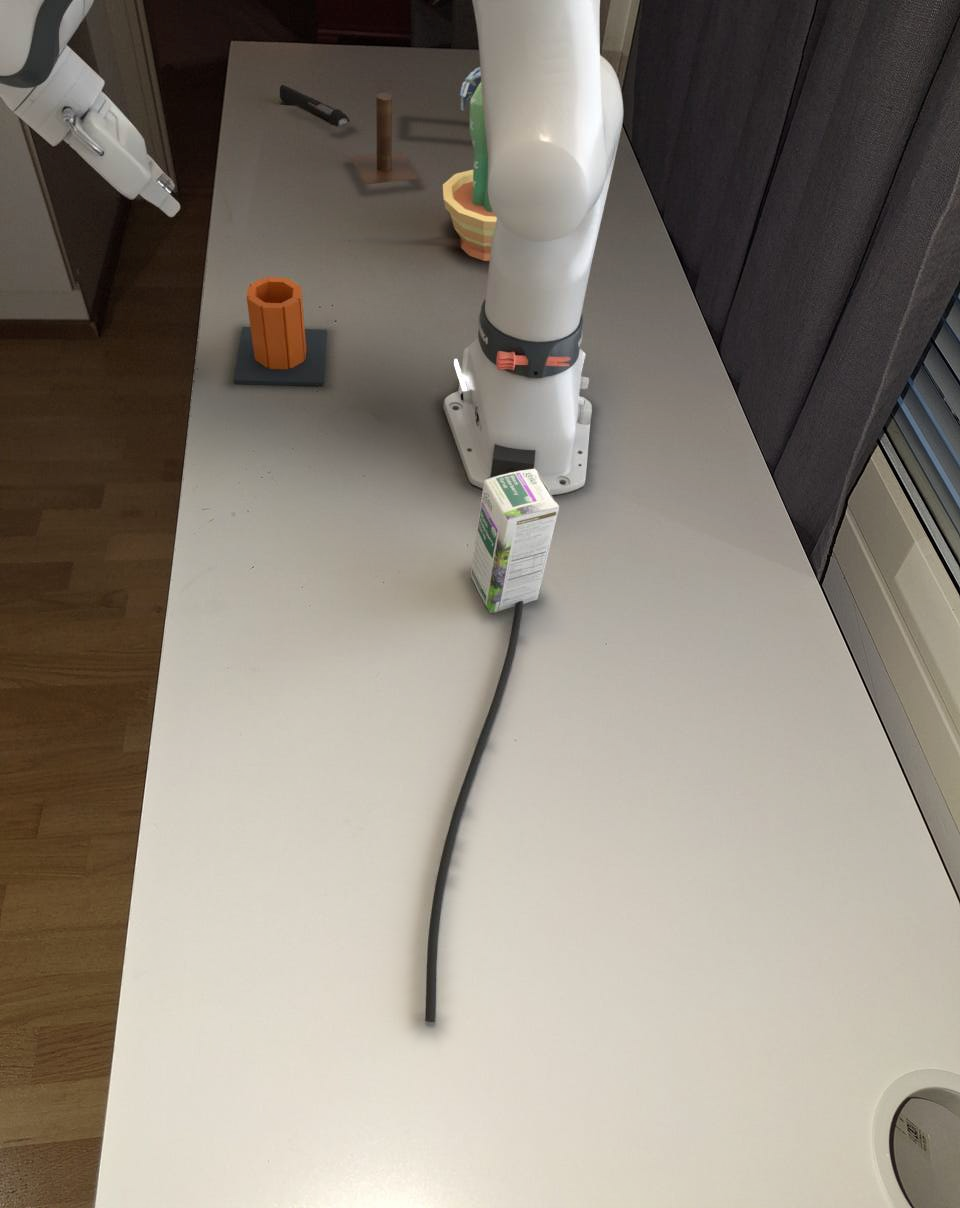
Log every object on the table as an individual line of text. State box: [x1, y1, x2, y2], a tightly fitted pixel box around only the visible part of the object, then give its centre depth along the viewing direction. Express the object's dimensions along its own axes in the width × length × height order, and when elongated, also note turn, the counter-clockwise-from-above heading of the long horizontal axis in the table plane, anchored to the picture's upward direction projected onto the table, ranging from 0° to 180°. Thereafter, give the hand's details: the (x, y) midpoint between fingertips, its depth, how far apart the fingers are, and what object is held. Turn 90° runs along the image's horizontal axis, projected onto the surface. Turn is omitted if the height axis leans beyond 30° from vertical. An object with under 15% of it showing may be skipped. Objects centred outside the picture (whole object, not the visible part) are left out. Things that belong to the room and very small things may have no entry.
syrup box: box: [470, 469, 560, 614], centre depth 91 cm, size 6×6×14 cm
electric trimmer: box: [279, 84, 351, 127], centre depth 157 cm, size 4×16×3 cm, turn 50°
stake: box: [349, 92, 420, 185], centre depth 142 cm, size 9×9×12 cm
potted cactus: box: [442, 66, 497, 262], centre depth 127 cm, size 15×15×25 cm
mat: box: [233, 326, 328, 387], centre depth 116 cm, size 11×11×1 cm
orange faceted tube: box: [246, 276, 306, 369], centre depth 113 cm, size 6×6×9 cm
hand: (173, 200), depth 104 cm, fingers open, 8 cm apart
